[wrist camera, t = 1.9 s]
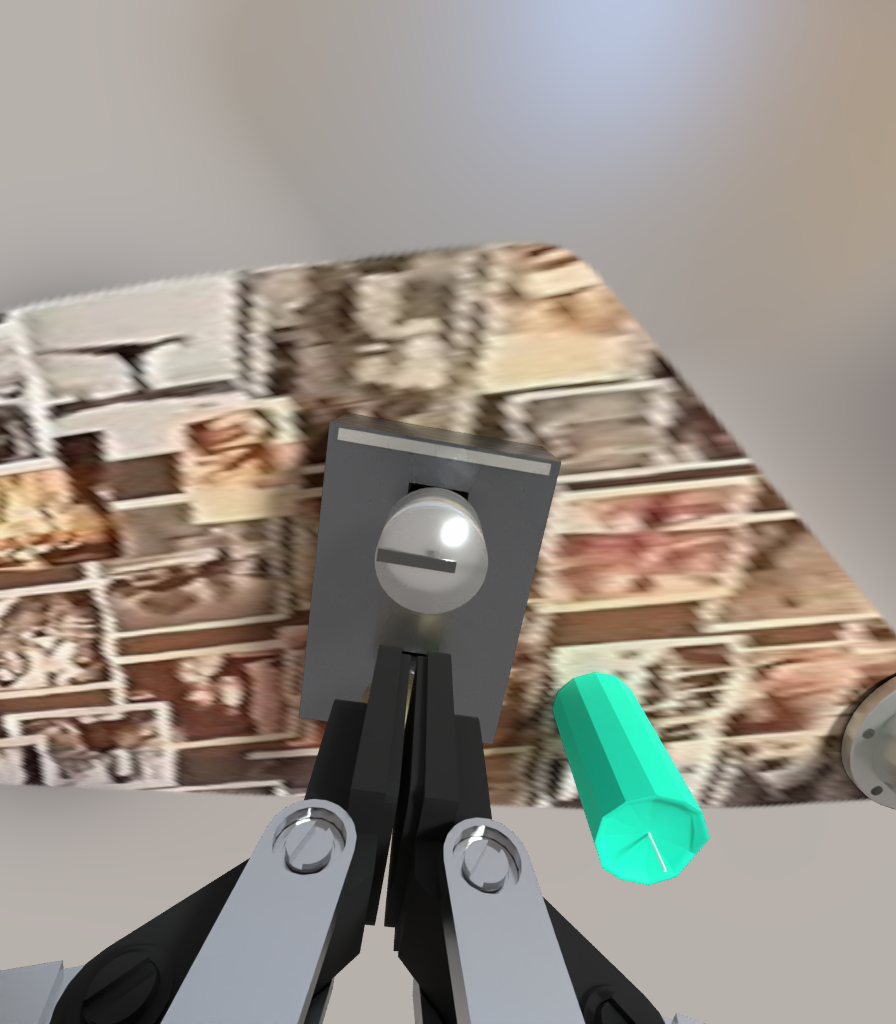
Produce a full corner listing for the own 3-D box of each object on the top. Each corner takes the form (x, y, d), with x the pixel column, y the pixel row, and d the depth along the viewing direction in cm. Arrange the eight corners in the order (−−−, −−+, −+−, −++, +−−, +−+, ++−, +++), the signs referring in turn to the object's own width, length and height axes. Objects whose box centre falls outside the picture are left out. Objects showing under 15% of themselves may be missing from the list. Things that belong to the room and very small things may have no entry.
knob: (482, 476, 27) (498, 519, 19) (467, 552, 28) (476, 622, 20) (399, 461, 27) (382, 500, 19) (388, 540, 28) (367, 605, 20)
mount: (542, 446, 30) (561, 462, 25) (485, 692, 35) (492, 745, 30) (348, 413, 29) (329, 422, 24) (318, 668, 34) (298, 718, 29)
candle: (576, 754, 37) (637, 930, 25) (537, 697, 35) (583, 857, 24) (648, 717, 36) (745, 883, 24) (611, 658, 34) (695, 804, 23)
